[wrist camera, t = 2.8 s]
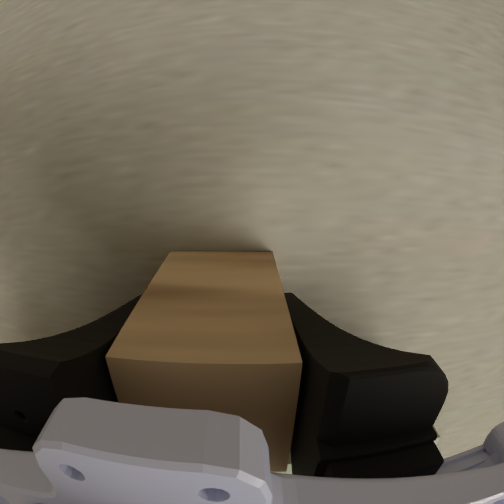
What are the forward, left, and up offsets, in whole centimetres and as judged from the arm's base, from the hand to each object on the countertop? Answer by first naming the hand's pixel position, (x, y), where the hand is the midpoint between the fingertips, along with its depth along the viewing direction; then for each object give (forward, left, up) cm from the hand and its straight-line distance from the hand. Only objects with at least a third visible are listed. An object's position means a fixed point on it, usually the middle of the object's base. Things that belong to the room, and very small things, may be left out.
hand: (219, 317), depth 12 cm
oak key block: (0, 0, -2) cm, 2 cm away
